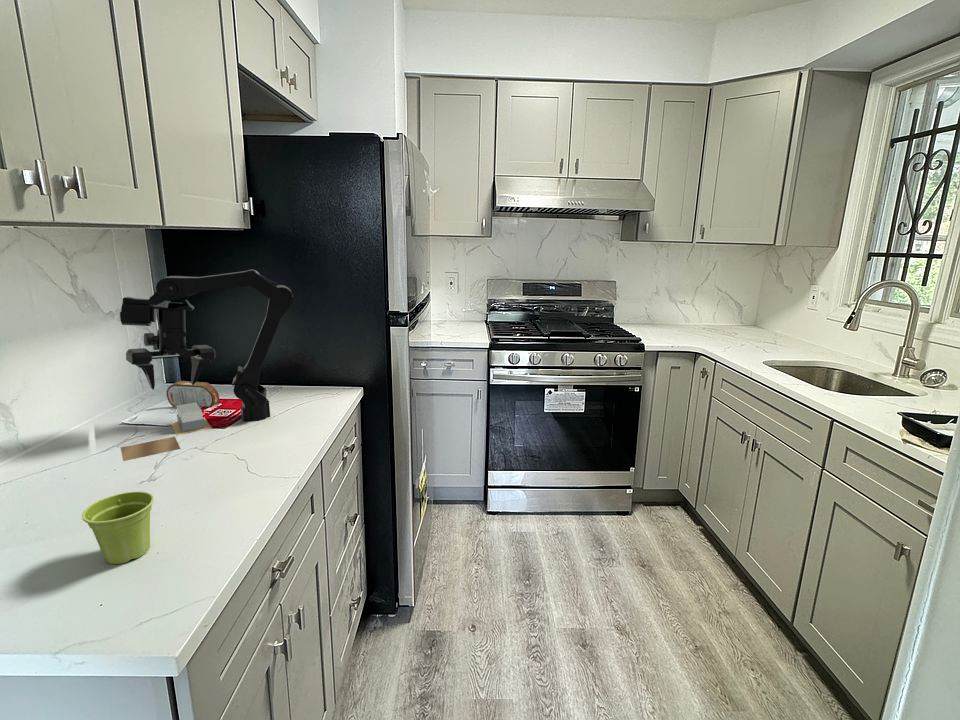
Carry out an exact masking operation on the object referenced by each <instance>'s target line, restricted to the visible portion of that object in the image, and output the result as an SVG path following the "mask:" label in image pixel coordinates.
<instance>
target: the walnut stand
mask: <svg viewBox="0 0 960 720" xmlns="http://www.w3.org/2000/svg"><path fill="white" fill-rule="evenodd" d="M177 450H182V449H181V447H180V444H179V442H178V441H177V439H176V437H175V436H171V437H165V438H161V439H156V440H151V441H146V442H141V443H135V444H131V445H126V446H121V447H120V451H121V454H122V458H123V459H122V460H123V462H125V461H127V462H128V461H131V460H136V459H140V458H144V457H150V456H155V455H159V454H163V453H169V452H173V451H177Z"/></svg>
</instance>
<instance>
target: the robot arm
mask: <svg viewBox="0 0 960 720" xmlns="http://www.w3.org/2000/svg"><path fill="white" fill-rule="evenodd" d="M248 286H250V287H252V288H253V289H255V290H257V291H258V292H259V293H260V294H262V295H263V296H264V297H266V298H268V302H267V307H266V308H267V309H266V315H265V318H264V320H263V322H262V325H261V328H260V331H259V333H258V335H257V337H256V340H255V343H254V346H253V347H252V348H253V349H252V350H251V352H250V356H249V358H248V361H247V363H246V364H245V365H244V366H241V365H238V367H237V372H236V375H235V376H234V377H233V379H232V383H231V386H233V394H234V396H235V397H236V398H237V399H239V400H241V405H242V406H241V407H240V414H241V415H240V417H241V421H242V422H244V423H247V422H259V421H264V420H266V419H268V418H271V412H270V411H271V408H270V400H269V399H268V398H267V389H268V388H266V387H264V386H263V385H262V384H260V377H261V371H262V367H263V366H264V363H265V360H266V358H267V355H268V353H269V350H270V348H271V345H272V342H273V340H274V337H275V335H276V332H277V330H278V327H279V325H280V322H281V321H282V319H283V318H284V316H285V315H286V314H287V313H288V311H289V309H290V308H291V306H292V304H293V302H294V295H293V293H292V289H291V288H290V287H288V286H286V285H283V284H277V283H275V282H274V281H272V280H270V279H269V278H267V277H266V276H265V275H262V274H261V273H259V271H257V270H255V269H252V268H251V269H248V270H243V271H236V272H228V273H220V274H213V275H212V274H211V275H204V276H187V275H186V276H184V275H169V276H165V277H164V278H161V279H160V280H159V281H157V283H156V287H155V292H154V293H153V294H152V295H151V296H149V298H137V297H136V298H135V297H131V296H125V297H123V298H122V303H121V308H120V312H119V319H120V322H121V325H122V326H137V327H141V326H144V327H151V325H152V324H153V323H156V322H157V317H158V329H157V333H156V335H155V333H154V332H145V333H143V345H144V348H129V349H128V350H127V351H126V353H125V360H126V362H129V364H131V365H133V366H136V367H137V368H139V369H141V371H142V372H143V373H144V375H145V378H146V380H147V382H148V384H149V387H150V389H151V390H155V385H156V383H155V369H154V364H152V363H151V362H152V361H153V360H160V359H172V358H186V357H187V358H188V357H189V358H190V360H191V371H190V372H191V373H190V375H191V376H190V382H191V384H192V385H195V383H196V382H198V381H197V380H198V378H199V376H200V374H201V372H202V371H203V369H204V368H205V366H206V365H207V363H211V360H215V359H216V357H217V354H216V353H217V352H216V350H215V348H213V347H212V346H210V345H208V344H196V345H192V346H191V349H190V348H189V349H188V348H187V344H186V343H187V340H186V337H188V332H187V330H186V327H187V326H186V312H188V311H190V312H191V311H193V310H194V309H195V306H194V305H192V304H191V303H190V302H189V300H188V299H186V298H188V297H190V296H191V297H192V296H195V295H197V294H200V293H205V292H212V291H213V292H214V291H219V290H228V289H234V288H241V287H242V288H243V287H248ZM184 298H185V300H184V301H183V302H175V301H179V300H183V299H184ZM163 302H168V304H167V305H165V304H163V305H161V303H163ZM157 311H158V312H157ZM145 347H152V349H153V350H154V351H151V350H148V349H147V348H145Z"/></svg>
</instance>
